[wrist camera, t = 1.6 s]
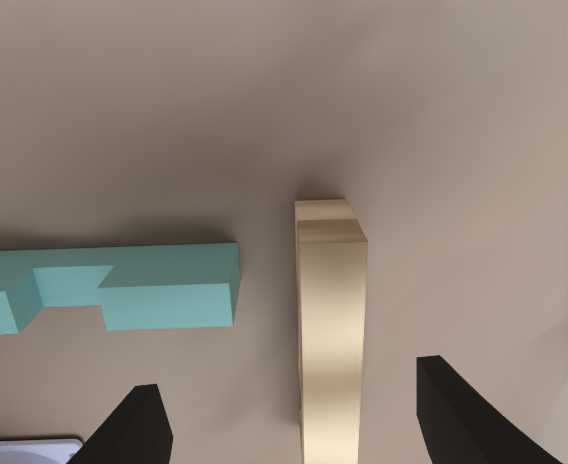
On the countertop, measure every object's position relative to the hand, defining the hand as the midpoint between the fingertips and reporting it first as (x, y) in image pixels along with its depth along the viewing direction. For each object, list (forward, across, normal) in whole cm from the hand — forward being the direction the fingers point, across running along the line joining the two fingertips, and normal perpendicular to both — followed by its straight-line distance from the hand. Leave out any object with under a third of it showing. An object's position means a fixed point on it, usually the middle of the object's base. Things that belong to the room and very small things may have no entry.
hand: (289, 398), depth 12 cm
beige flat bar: (+10, -1, +5) cm, 11 cm away
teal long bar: (+9, +9, 0) cm, 13 cm away
